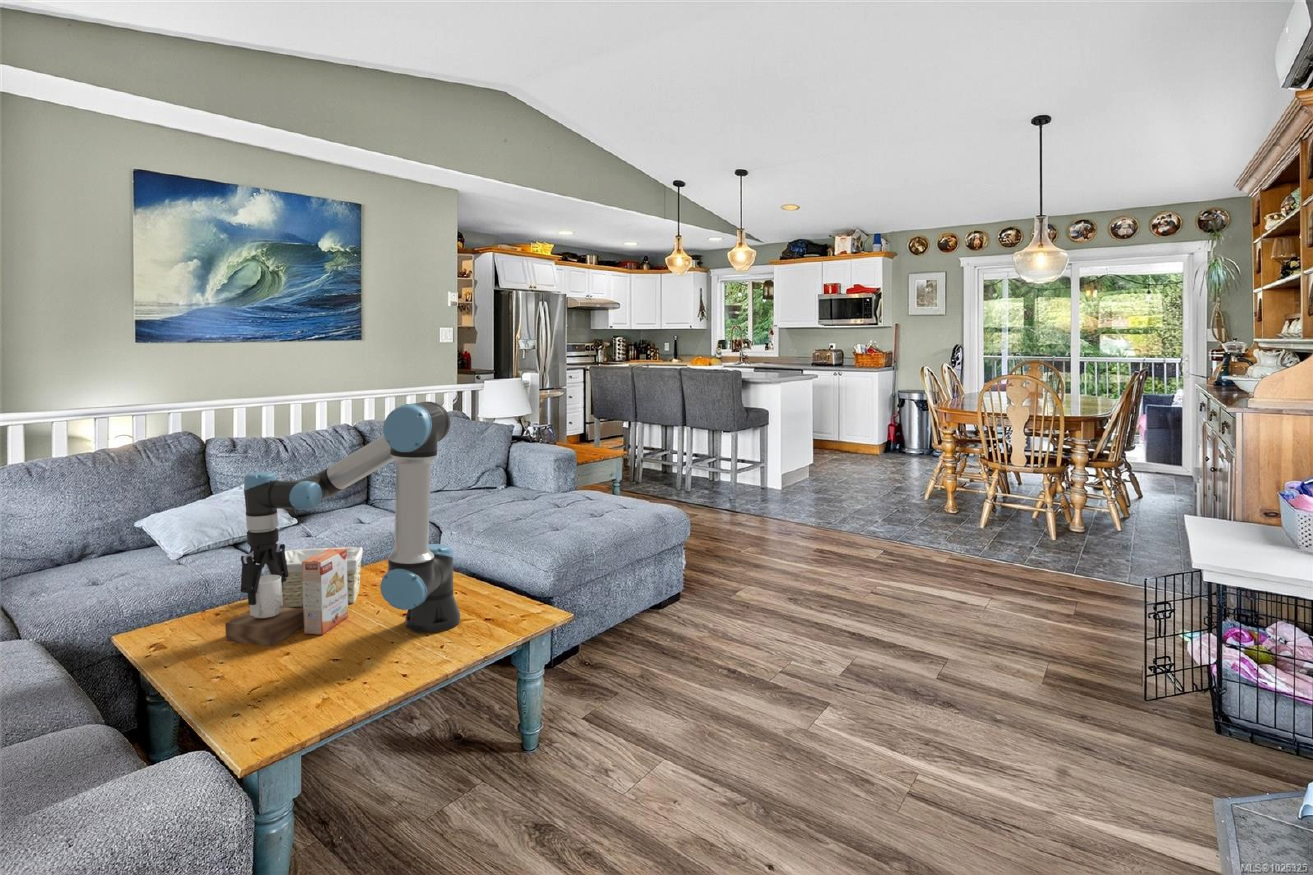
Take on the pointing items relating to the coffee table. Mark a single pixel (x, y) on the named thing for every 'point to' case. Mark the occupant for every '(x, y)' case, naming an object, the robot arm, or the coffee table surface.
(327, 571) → the cracker box
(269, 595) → the white cup
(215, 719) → the coffee table surface
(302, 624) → the walnut block
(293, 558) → the storage basket
